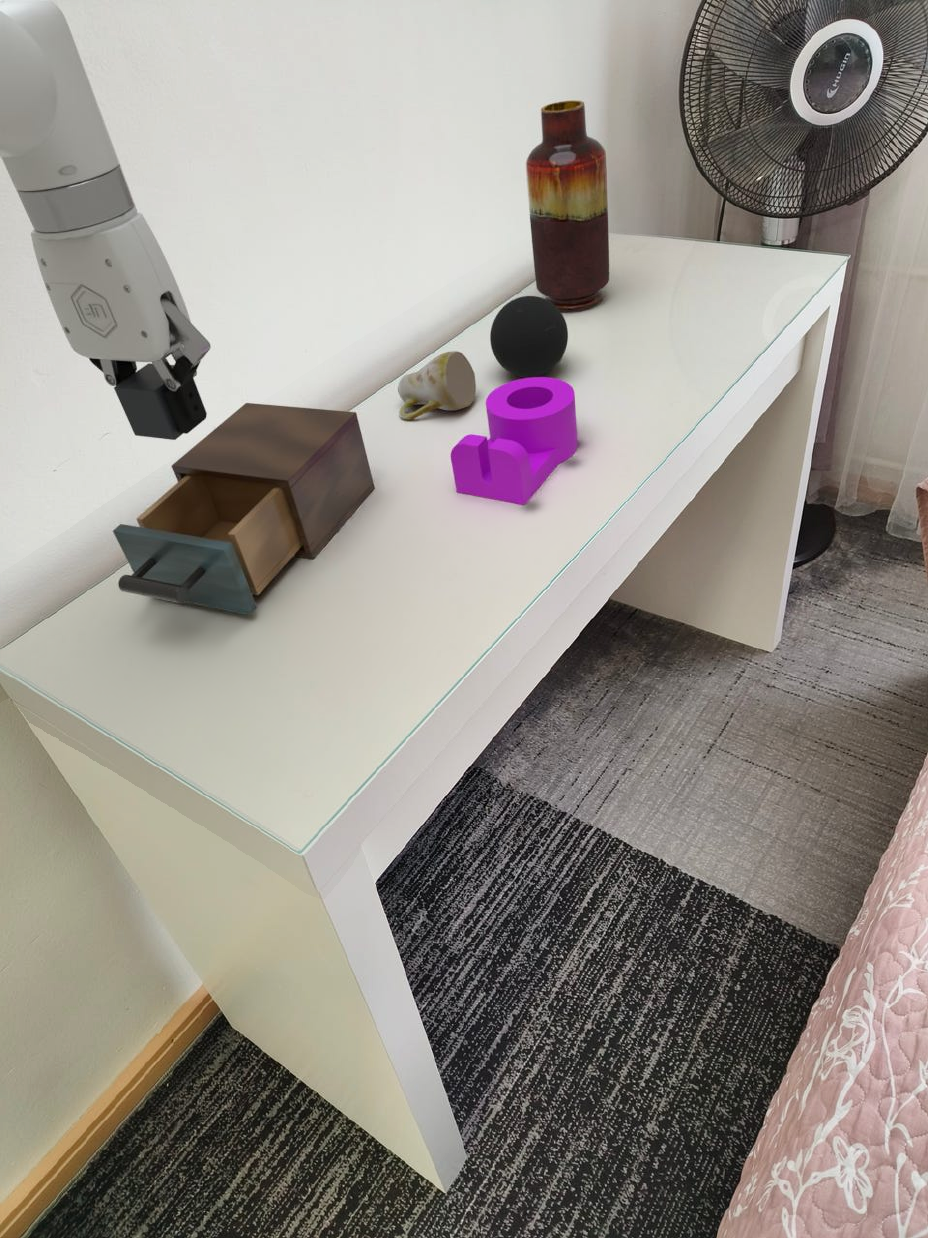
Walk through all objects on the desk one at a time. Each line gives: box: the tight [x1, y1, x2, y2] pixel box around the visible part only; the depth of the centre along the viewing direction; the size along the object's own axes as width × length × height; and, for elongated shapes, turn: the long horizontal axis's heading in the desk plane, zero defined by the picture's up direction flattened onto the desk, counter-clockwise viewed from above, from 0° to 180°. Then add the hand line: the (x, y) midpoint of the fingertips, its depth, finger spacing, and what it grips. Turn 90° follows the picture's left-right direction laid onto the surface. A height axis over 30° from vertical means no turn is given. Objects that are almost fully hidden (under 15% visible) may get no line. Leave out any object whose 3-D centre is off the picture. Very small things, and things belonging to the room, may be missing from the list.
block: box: [113, 362, 208, 441], centre depth 73 cm, size 5×5×5 cm
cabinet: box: [171, 402, 376, 560], centre depth 92 cm, size 14×15×10 cm
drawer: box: [112, 474, 303, 616], centre depth 83 cm, size 17×13×8 cm
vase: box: [525, 100, 610, 313], centre depth 121 cm, size 11×11×26 cm
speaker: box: [489, 295, 569, 378], centre depth 109 cm, size 10×10×10 cm
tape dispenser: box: [450, 376, 579, 506], centre depth 94 cm, size 16×10×6 cm, turn 150°
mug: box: [397, 350, 477, 421], centre depth 107 cm, size 8×10×10 cm
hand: (169, 421), depth 75 cm, fingers closed on block, 4 cm apart
